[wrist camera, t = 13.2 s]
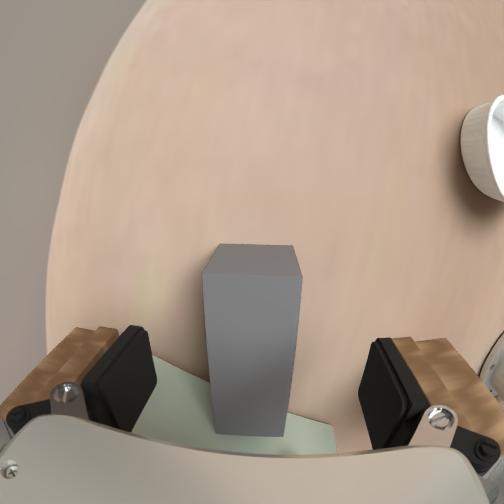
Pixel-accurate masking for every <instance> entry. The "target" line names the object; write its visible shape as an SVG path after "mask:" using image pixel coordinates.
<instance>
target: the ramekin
mask: <svg viewBox="0 0 504 504" xmlns="http://www.w3.org/2000/svg"><path fill="white" fill-rule="evenodd" d="M461 152H462V157H463V161H464V165H465V168H466V170H467V173H468V175H469V177H470V179H471V180H472V182H473V184H474V185H475V186H476V187H477V188H478V189H479V190H480V191H481V192H482V193H484V194H485V195H487V196H489V197H491V198H493V199H496V200H499V201H502V202H504V95H501V96H499V97H496V98H495V99H494V100H492V101H490V102H488V103H485V104H482V105H480V106H477V107H475V108H473V109H472V110H471V111H470V112H469V113H468V114H467V115H466V117H465V119H464V122H463V125H462V130H461Z"/></svg>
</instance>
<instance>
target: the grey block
mask: <svg viewBox="0 0 504 504" xmlns="http://www.w3.org/2000/svg"><path fill="white" fill-rule="evenodd" d="M302 277H303V276H302V273H301V270H300V267H299V264H298V260H297V257H296V254H295V251H294V248H293V246H288V245H252V244H220V245H219V247H218V248H217V250H216V251H215V253H214V255H213V256H212V258H211V260H210V261H209V263H208V264H207V266H206V268H205V269H204V271H203V273H202V282H203V300H204V315H205V329H206V342H207V354H208V365H209V376H210V386H211V395H212V404H213V413H214V421H215V429H216V434H225V435H238V436H257V437H283V436H284V430H285V424H286V417H287V410H288V404H289V397H290V389H291V382H292V374H293V366H294V358H295V349H296V340H297V331H298V321H299V311H300V300H301V289H302Z"/></svg>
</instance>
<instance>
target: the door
mask: <svg viewBox="0 0 504 504" xmlns="http://www.w3.org/2000/svg"><path fill="white" fill-rule="evenodd" d="M152 357H153V362H154V366H155V371H156V375H157V385H156V387H155V389H154V391H153V392H152V394H151V396H150V398H149V400H148V402H147V403H146V405H145V407H144V409H143V411H142V413H141V415H140V417H139V418H138V420H137V422H136V424H135V426H134V428H133V430H132V432H131V433H135V434H138V435H142V436H146V437H150V438H154V439H159V440H163V441H168V442H173V443H178V444H183V445H189V446H194V447H201V448H207V449H215V450H222V451H232V452H242V453H255V454H278V455H312V454H333V453H337V448H336V442H335V437H334V432H333V427H332V425H328V424H325V423H321V422H317V421H314V420H310V419H307V418H304V417H300V416H297V415H294V414H291V413H288V412H287V417H286V424H285V430H284V436H283V437H257V436H238V435H225V434H216V429H215V421H214V413H213V404H212V395H211V386H210V383H209V382H207V381H205V380H203V379H201V378H198V377H196V376H194V375H192V374H190V373H188V372H186V371H184V370H181V369H179V368H177V367H175V366H173V365H171V364H169V363H167V362H166V361H164V360H162V359H160V358H158V357H156V356H154V355H152Z"/></svg>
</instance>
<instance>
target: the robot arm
mask: <svg viewBox="0 0 504 504" xmlns="http://www.w3.org/2000/svg"><path fill="white" fill-rule="evenodd" d="M480 379H481V381H482V382H483V383H484V384H485V386H486V387H487V388H488V390H489V391H490V392H491V393H492V395H493V396H497V395H499V396H500V397H501V399H502V400H503V401H504V333H503V334H502V336H501V337H500V338H499V340H498V341H497V343H496V344H495V346H494V347H493V349H492V350H491V352H490V354H489V356H488V357H487V359H486V361H485V364H484V366H483V368H482V371H481V374H480ZM156 385H157V375H156V371H155V366H154V362H153V357H152V352H151V347H150V342H149V337H148V333H147V331H145V330H144V328H143V327H140V326H133V325H130V326H128V328H127V329H126V330H125V331H124V332H123V333H122V334H121V335H120V336H119V338H118V339H117V340H116V341H115V342H114V343H113V344H112V345H111V347H110V348H109V349H108V350H107V351H106V352H105V353H104V355H103V356H102V357H101V358H100V359H99V360H98V361H97V363H96V364H95V365H94V366H93V367H92V368H91V370H90V371H89V372H88V373H87V374H86V375H85V377H84V378H83V379H82V383H81V384H80V385H79V384H77V383H75V382H63V383H60V384H58V385H56V386H55V387H54V388H53V389H52V391H51V392H50V399H47V400H43V401H39V402H34V403H29V404H25V405H20V406H16V407H14V408H12V409H11V410H10V411H9V412H8V414H7V416H6V421H4V420H3V419H0V504H504V456H501V455H500V454H501V450H500V446H499V444H498V443H497V442H496V441H495V440H494V439H492V438H489V437H487V436H484V435H481V434H478V433H476V432H473V431H470V430H468V429H465V428H463V427H460V426H457V424H458V417H457V415H456V413H455V412H454V411H453V410H452V409H451V408H449V407H447V406H443V405H434V406H430V404H429V402H428V401H427V399H426V397H425V395H424V393H423V391H422V389H421V388H420V386H419V384H418V382H417V380H416V379H415V377H414V375H413V373H412V371H411V370H410V368H409V367H408V366H407V365H406V363H405V361H404V360H403V358H402V356H401V354H400V353H399V351H398V349H397V348H396V346H395V344H394V342H393V341H392V339H391V338H377V339H376V341H375V342H372V344H371V347H370V351H369V355H368V359H367V363H366V366H365V370H364V373H363V377H362V380H361V383H360V387H359V390H358V397H359V400H360V404H361V407H362V411H363V414H364V418H365V421H366V425H367V429H368V432H369V436H370V440H371V444H372V448H373V450H367V451H358V452H346V453H333V454H312V455H278V454H255V453H242V452H232V451H222V450H215V449H207V448H201V447H194V446H189V445H183V444H178V443H173V442H168V441H163V440H159V439H154V438H150V437H146V436H142V435H138V434H135V433H131V432H132V430H133V428H134V426H135V424H136V422H137V420H138V418H139V417H140V415H141V413H142V411H143V409H144V407H145V405H146V403H147V402H148V400H149V398H150V396H151V394H152V392H153V391H154V389H155V387H156Z"/></svg>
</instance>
